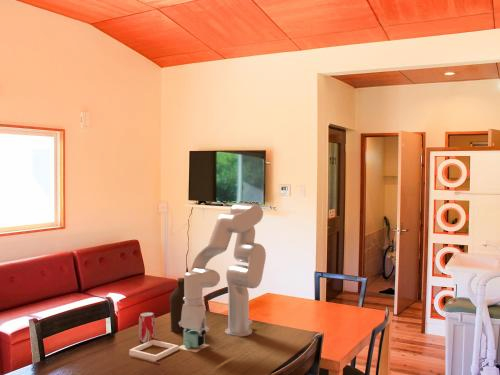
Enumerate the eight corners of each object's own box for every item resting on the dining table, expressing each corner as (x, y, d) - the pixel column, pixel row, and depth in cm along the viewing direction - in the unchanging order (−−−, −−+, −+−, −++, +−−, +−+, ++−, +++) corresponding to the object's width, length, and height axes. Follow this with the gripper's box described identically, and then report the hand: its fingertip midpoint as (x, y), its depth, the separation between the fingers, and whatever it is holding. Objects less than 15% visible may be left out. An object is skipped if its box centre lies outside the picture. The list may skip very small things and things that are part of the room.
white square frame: (152, 345, 206) (152, 339, 206) (178, 351, 199) (178, 345, 199) (129, 355, 194) (129, 349, 194) (156, 362, 187) (156, 356, 187)
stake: (190, 342, 209) (190, 331, 209) (209, 346, 204) (209, 335, 204) (176, 349, 201) (176, 338, 201) (195, 354, 196) (195, 342, 196)
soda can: (151, 344, 207) (151, 316, 207) (136, 343, 209) (135, 315, 209) (157, 338, 214) (157, 312, 214) (142, 337, 216) (142, 311, 215)
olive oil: (170, 335, 218) (170, 281, 218) (169, 328, 229) (169, 276, 228) (193, 334, 221) (193, 280, 220) (191, 327, 231) (191, 275, 231)
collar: (192, 340, 207) (192, 329, 207) (204, 342, 204) (204, 331, 204) (181, 346, 201) (180, 334, 200) (193, 349, 197) (193, 337, 197)
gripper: (171, 300, 203) (172, 342, 204) (205, 306, 195) (205, 349, 196) (182, 296, 210) (183, 337, 211) (215, 301, 201) (216, 343, 202)
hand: (194, 342), depth 203 cm, fingers closed on collar, 6 cm apart
